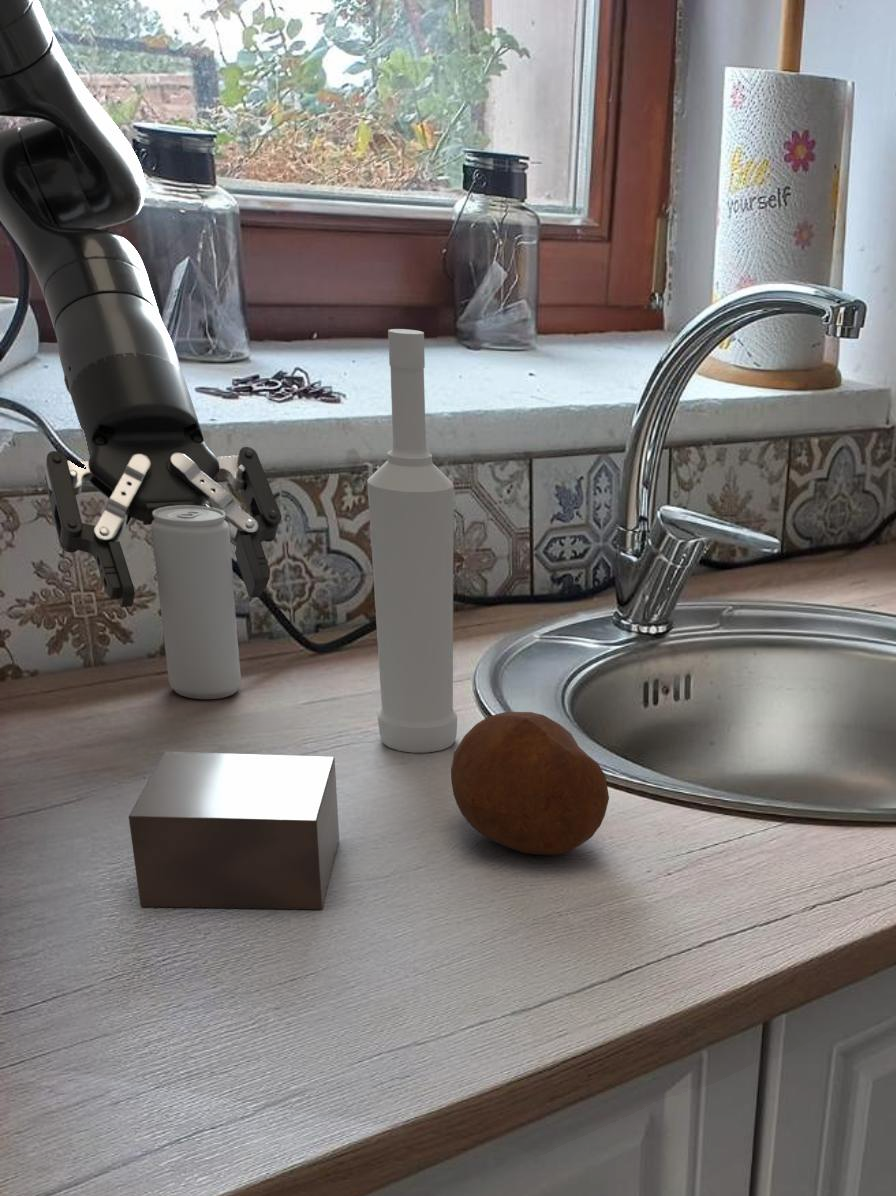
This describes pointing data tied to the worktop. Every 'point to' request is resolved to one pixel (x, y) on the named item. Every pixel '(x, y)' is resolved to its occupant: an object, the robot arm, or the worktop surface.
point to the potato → (528, 784)
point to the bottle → (412, 568)
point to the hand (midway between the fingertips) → (194, 596)
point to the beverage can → (197, 600)
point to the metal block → (236, 831)
